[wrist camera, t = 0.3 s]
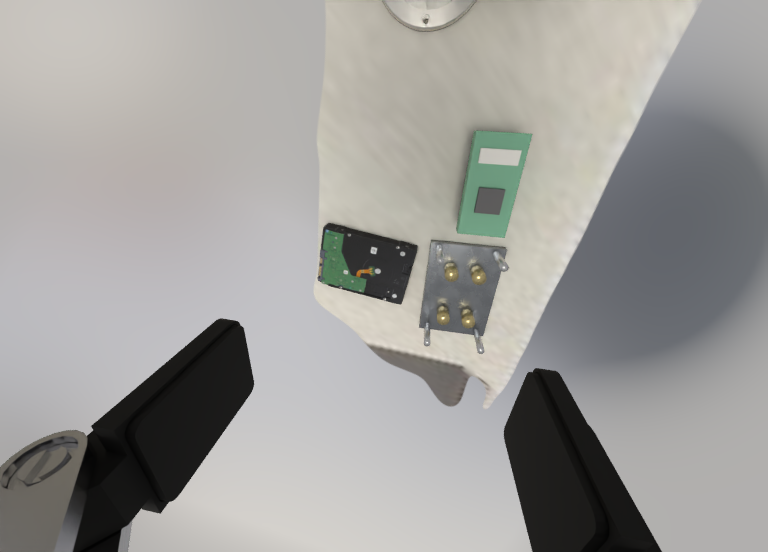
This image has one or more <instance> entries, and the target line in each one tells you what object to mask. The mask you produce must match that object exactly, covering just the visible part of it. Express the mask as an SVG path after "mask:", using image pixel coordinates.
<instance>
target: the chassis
mask: <svg viewBox="0 0 768 552" xmlns="http://www.w3.org/2000/svg"><path fill="white" fill-rule="evenodd" d="M506 252H507V249H506V248H505V247H495V246H485V245H476V244H466V243H456V242H446V241H436V240H431V246H430V253H429V260H428V268H427V275H426V282H425V289H424V296H423V303H422V310H421V317H420V324H419V328H424V345H425V346H429V345H430V329H434V330H441V331H449V332H456V333H463V334H471V335H474V337H475V342H476V346H477V351H478V353H479V354H483V353H484V347H483V344H482V340H481V336H483V334H484V331H485V327H486V324H487V320H488V316H489V313H490V309H491V306H492V302H493V298H494V295H495V291H496V288H497V284H498V280H499V277H500V273H501V271H503V272H505V271H507V270H508V268H509V267H508V265H507V264H506V262H505V260H504V259H505V255H506Z"/></svg>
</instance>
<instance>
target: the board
mask: <svg viewBox="0 0 768 552" xmlns="http://www.w3.org/2000/svg"><path fill="white" fill-rule="evenodd" d="M531 137H532V134H525V133H508V132H492V131H474V134H473V139H472V145H471V150H470V156H469V161H468V167H467V172H466V178H465V183H464V189H463V194H462V200H461V205H460V211H459V216H458V222H457V228H456V230H457V233H460V234H470V235H480V236H490V237H500V238H505V235H506V231H507V227H508V223H509V220H510V216H511V212H512V208H513V205H514V201H515V197H516V193H517V190H518V186H519V182H520V179H521V175H522V171H523V167H524V164H525V160H526V156H527V152H528V149H529V145H530V141H531Z"/></svg>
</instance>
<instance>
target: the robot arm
mask: <svg viewBox="0 0 768 552" xmlns="http://www.w3.org/2000/svg"><path fill="white" fill-rule="evenodd" d="M382 1H383V3H384V4H385V6H386V7H387V9H388V10H389V12H390V13H391V14H392V15H393V16H394V17H395V18H396V19H397V20H398V21H399V22H400V23H402V24H403V25H405V26H407V27H409V28H412V29H415V30H418V31H433V30H439V29H441V28H444V27H446V26H449V25H451V24H452V23H454V22H455V21H457V20H458V19H460V18H461V17H462V16H463V15H464V14H465V13H466V12H467V11H468V10H469V9H470V8H471V7H472V5H473V4H474V3H475V1H476V0H382ZM426 19H427V20H428V23H427V24H424V20H426ZM253 387H254V380H253V375H252V369H251V364H250V359H249V353H248V348H247V343H246V338H245V332H244V328H243V327H242V326H240V323H239V322H238V321H234V320H227V319H218V320H216V321H215V322H214V323H213V324H212V325H210V326H209V327H208V328H207V329H206V330H204V331H203V332H202V333H201V334H200V335H198V336H197V337H196V338H195V339H194V340H193V341H191V342H190V343H189V344H188V345H187V346H185V347H184V348H183V349H182V350H181V351H180V352H178V353H177V354H176V355H175V356H174V357H173V358H171V359H170V360H169V361H168V362H166V363H165V365H163V366H162V367H161V368H159V369H158V370H157V371H156V372H155V373H153V375H151V376H150V377H149V378H148V379H146V380H145V381H144V382H143V383H142V384H141V385H139V386H138V387H137V388H136V389H135V390H133V391H132V392H131V393H130V394H129V395H127V396H126V397H125V398H124V399H123V400H121V401H120V402H119V403H118V404H117V405H116V406H114V407H113V408H112V409H111V410H110V411H109V412H107V413H106V414H105V415H104V416H103V417H101V418H100V419H99V420H98V421H97V422H95V423H94V424H93V425H92V428H93V431H92V432H91V433H90V434H89V435H87V436H86V435H85V434H84V433H83V432H80V431H77V430H68V431H62V432H58V433H54V434H51V435H49V436H46V437H44V438H41V439H39V440H37V441H35V442H33V443H31V444H30V445H28V446H26V447H24V448H23V449H22V450H20V451H19V452H17V453H16V454H14V455H13V456H12V457H10V458H9V459H8V460H7V461H6V462H5V463H4V464H3V465H2V466H1V467H0V552H128V547H129V540H130V532H131V525H132V520H133V518H134V517H135V515H137V513H138V512H139V511H140V509H141V508H142V509H143V510H147V511H152V512H156V513H161V512H162V511H163V509H164V508H165V507H166V505H167V504H168V503H169V502H170V501H173V500H175V499H176V498H177V497H178V495H179V494H180V493H181V492H182V490H183V489H184V487H185V486H186V484H187V483H188V482H189V480H190V479H191V477H192V476H193V475H194V473H195V472H196V470H197V469H198V467H199V466H200V465H201V463H202V462H203V460H204V459H205V457H206V456H207V455H208V453H209V452H210V450H211V449H212V448H213V446H214V445H215V443H216V442H217V440H218V439H219V438H220V436H221V435H222V433H223V432H224V431H225V429H226V427H227V426H228V425H229V423H230V422H231V421H232V419H233V418H234V416H235V415H236V413H237V412H238V411H239V409H240V408H241V407H242V405H243V404H244V402H245V401H246V399H247V398H248V396H249V395H250V394H251V392H252V390H253ZM504 439H505V444H506V448H507V452H508V455H509V460H510V464H511V468H512V472H513V476H514V480H515V484H516V488H517V492H518V495H519V499H520V504H521V508H522V512H523V515H524V520H525V524H526V527H527V532H528V536H529V539H530V543H531V547H532V551H533V552H662V551H661V550H660V548H659V546H658V544H657V543H656V541H655V539H654V537H653V536H652V533H651V532H650V530H649V528H648V527H647V525H646V523H645V521H644V519H643V518H642V516H641V514H640V512H639V511H638V509H637V507H636V505H635V503H634V502H633V500H632V498H631V496H630V495H629V493H628V491H627V489H626V488H625V486H624V484H623V482H622V480H621V479H620V477H619V475H618V473H617V472H616V470H615V468H614V466H613V464H612V463H611V461H610V459H609V457H608V456H607V454H606V452H605V450H604V448H603V447H602V445H601V443H600V442H599V440H598V438H597V436H596V434H595V433H594V431H593V430H592V428H591V427H590V426H589V425H588V424H587V422H586V420H585V419H584V417H583V415H582V413H581V411H580V410H579V408H578V406H577V404H576V402H575V401H574V399H573V397H572V395H571V393H570V392H569V390H568V388H567V386H566V384H565V383H564V381H563V379H562V377H561V376H560V374H559V373H558V372H556V371H551V370H545V369H539V368H536V369H534V371H533V372H528V373H527V375H526V377H525V380H524V382H523V385H522V387H521V389H520V392H519V394H518V397H517V399H516V401H515V404H514V406H513V409H512V411H511V414H510V416H509V418H508V421H507V423H506V426H505V428H504Z"/></svg>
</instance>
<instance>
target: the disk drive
mask: <svg viewBox="0 0 768 552" xmlns="http://www.w3.org/2000/svg"><path fill="white" fill-rule="evenodd" d="M416 253H417V245H412V244H409V243H406V242H403V241H397V240H393V239H389V238H385V237H382V236H377V235H373V234H370V233H365V232H362V231H358V230H354V229H350V228H347V227H344V226H339V225H335V224H331V223H328V224H327V225H326V226H324V228H323V235H322V244H321V250H320V257H321V258H320V263H319V264H320V265H319V273H318V275H319V276H318V281H320V282H322V283H323V284H327V285H328V286H331V287H334V288H339V289H343V290H347V291H350V292H354V293H358V294H362V295H366V296H370V297H373V298H377V299H381V300H385V301H388V302H391V303H396V304H402V301H403V297H404V294H405V290H406V287H407V284H408V280H409V277H410V273H411V270H412V266H413V263H414V260H415V256H416Z"/></svg>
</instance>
